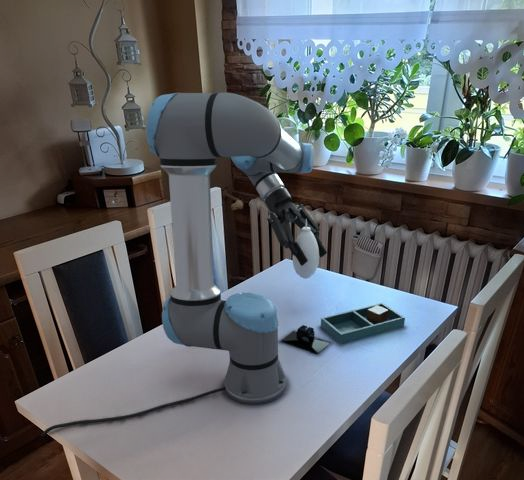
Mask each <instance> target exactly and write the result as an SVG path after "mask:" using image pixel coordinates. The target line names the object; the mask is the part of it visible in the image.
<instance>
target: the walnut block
mask: <svg viewBox="0 0 524 480" xmlns="http://www.w3.org/2000/svg"><path fill="white" fill-rule="evenodd" d="M388 313H389V310H388V309H385V308H383V307H380V306H378V305H376V306H374V307H372V308H370V309H368V310H367V320H368V321H369V322H371V323H372V324H373V325H375V324H378V323H382V322H386V321H388Z"/></svg>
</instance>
